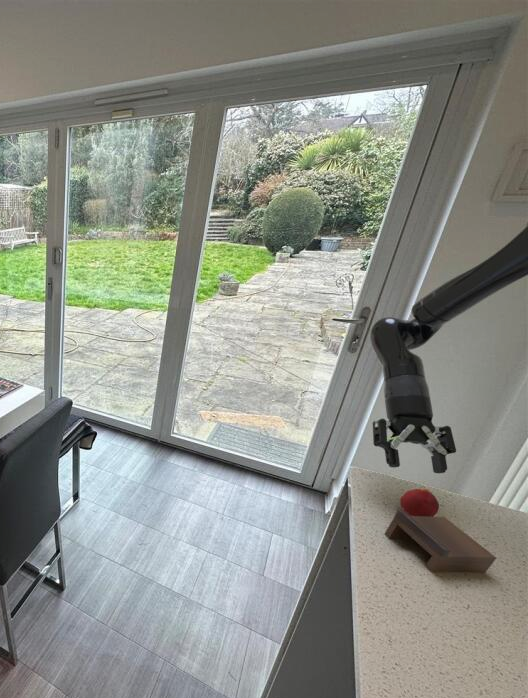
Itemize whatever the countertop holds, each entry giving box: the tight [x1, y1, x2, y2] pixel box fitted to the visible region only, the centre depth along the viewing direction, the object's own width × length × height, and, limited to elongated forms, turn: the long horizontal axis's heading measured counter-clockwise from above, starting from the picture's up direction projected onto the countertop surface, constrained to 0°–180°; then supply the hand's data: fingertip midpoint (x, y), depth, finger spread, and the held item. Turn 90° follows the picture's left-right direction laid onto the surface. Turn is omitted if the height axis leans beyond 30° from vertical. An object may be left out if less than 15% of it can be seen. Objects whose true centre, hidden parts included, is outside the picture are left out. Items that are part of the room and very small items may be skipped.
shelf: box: [384, 509, 497, 574], centre depth 78 cm, size 10×10×7 cm
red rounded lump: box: [399, 486, 440, 517], centre depth 86 cm, size 6×6×8 cm
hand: (417, 469), depth 88 cm, fingers open, 8 cm apart
